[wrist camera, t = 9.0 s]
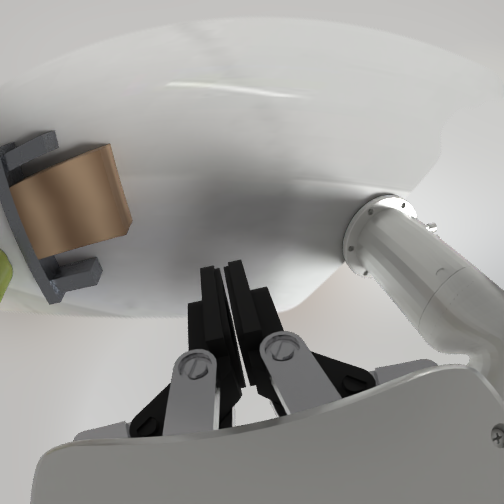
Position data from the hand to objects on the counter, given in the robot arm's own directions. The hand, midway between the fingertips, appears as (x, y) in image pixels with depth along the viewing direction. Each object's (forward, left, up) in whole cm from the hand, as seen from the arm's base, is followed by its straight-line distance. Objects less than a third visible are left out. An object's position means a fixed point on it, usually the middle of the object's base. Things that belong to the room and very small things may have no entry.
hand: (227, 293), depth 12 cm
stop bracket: (+19, 0, -21) cm, 28 cm away
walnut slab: (+15, -1, -21) cm, 26 cm away
